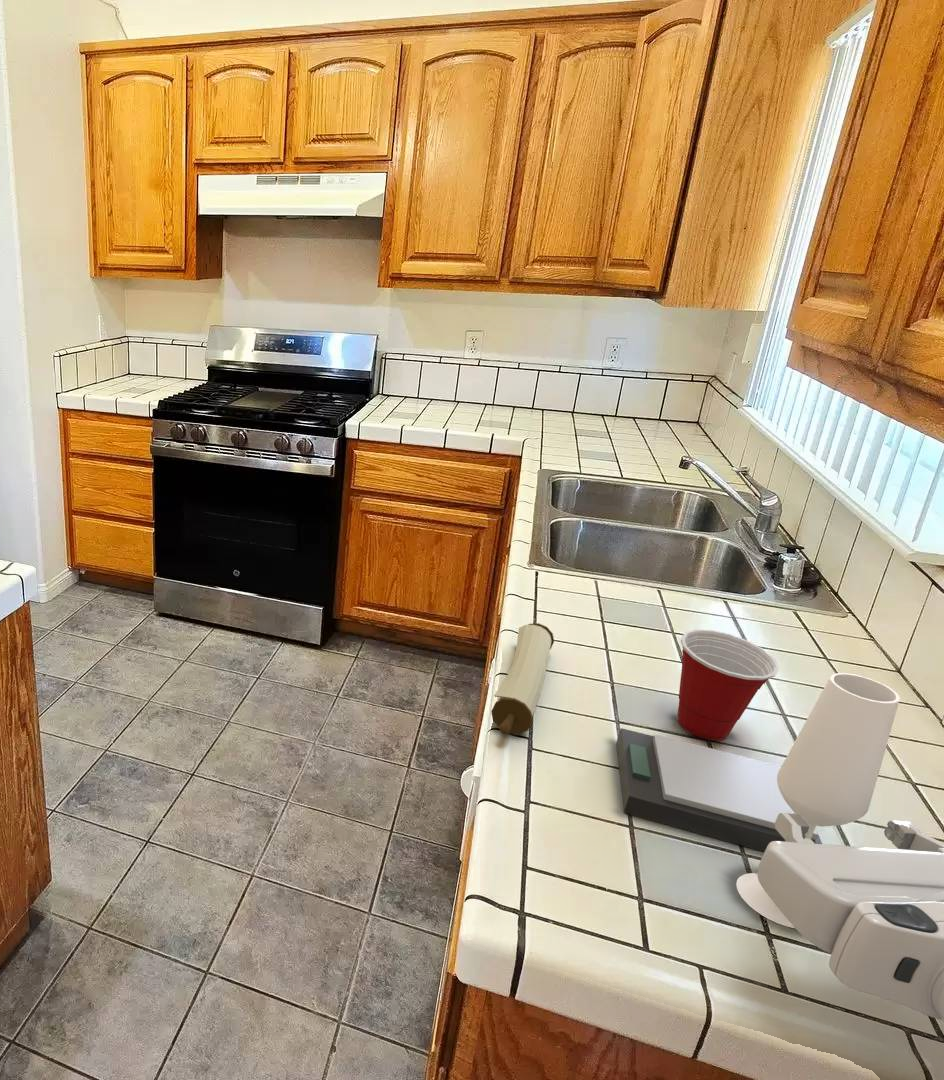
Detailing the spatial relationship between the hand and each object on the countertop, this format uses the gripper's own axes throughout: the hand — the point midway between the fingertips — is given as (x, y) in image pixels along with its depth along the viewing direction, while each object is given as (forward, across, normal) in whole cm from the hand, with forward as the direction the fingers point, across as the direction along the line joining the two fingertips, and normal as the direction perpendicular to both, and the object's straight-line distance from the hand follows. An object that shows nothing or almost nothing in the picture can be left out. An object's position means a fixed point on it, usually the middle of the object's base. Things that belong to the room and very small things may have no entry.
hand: (839, 822), depth 66 cm
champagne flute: (+3, 0, +12) cm, 12 cm away
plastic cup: (+32, -8, +12) cm, 35 cm away
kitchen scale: (+17, -1, +12) cm, 21 cm away
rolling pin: (+39, +13, +12) cm, 43 cm away
